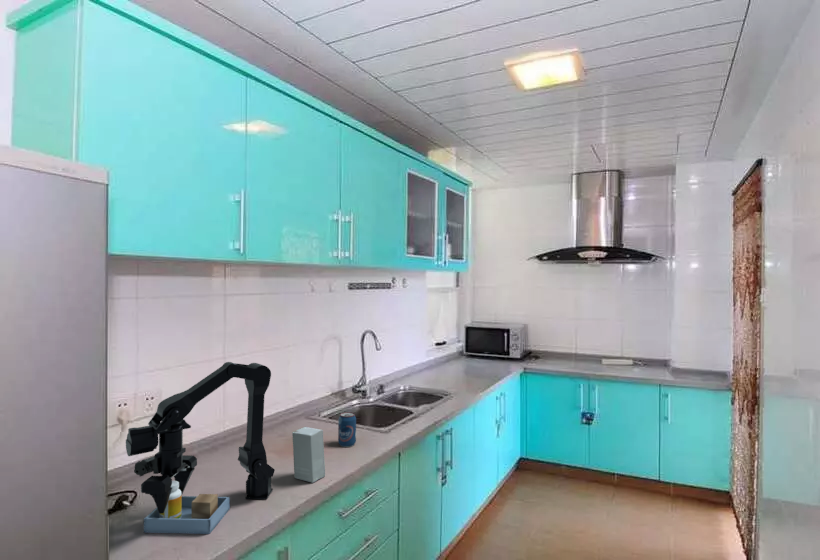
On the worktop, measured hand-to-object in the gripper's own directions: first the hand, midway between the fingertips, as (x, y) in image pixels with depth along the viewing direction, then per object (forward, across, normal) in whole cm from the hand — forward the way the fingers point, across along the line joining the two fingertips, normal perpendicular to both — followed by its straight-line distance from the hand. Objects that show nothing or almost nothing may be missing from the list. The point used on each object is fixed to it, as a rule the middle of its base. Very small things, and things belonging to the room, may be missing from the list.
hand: (170, 504), depth 132 cm
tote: (+5, -1, +4) cm, 7 cm away
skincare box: (+5, -30, +30) cm, 43 cm away
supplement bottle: (+4, 0, 0) cm, 4 cm away
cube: (+4, -2, +8) cm, 10 cm away
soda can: (+5, -62, +38) cm, 73 cm away
